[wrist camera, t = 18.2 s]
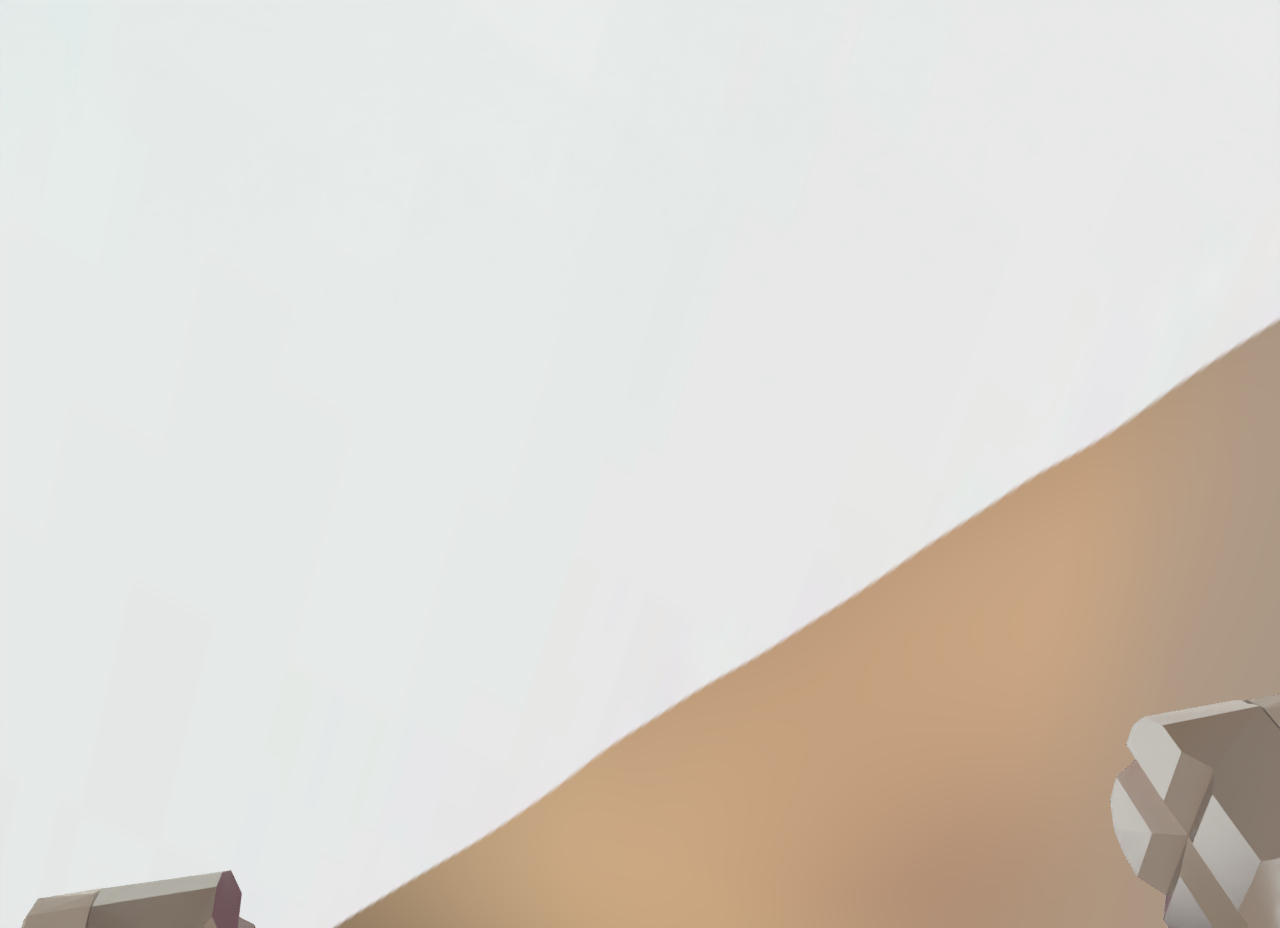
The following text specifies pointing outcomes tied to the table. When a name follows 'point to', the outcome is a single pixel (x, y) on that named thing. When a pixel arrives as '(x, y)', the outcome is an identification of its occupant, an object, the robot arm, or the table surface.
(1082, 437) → the table surface
